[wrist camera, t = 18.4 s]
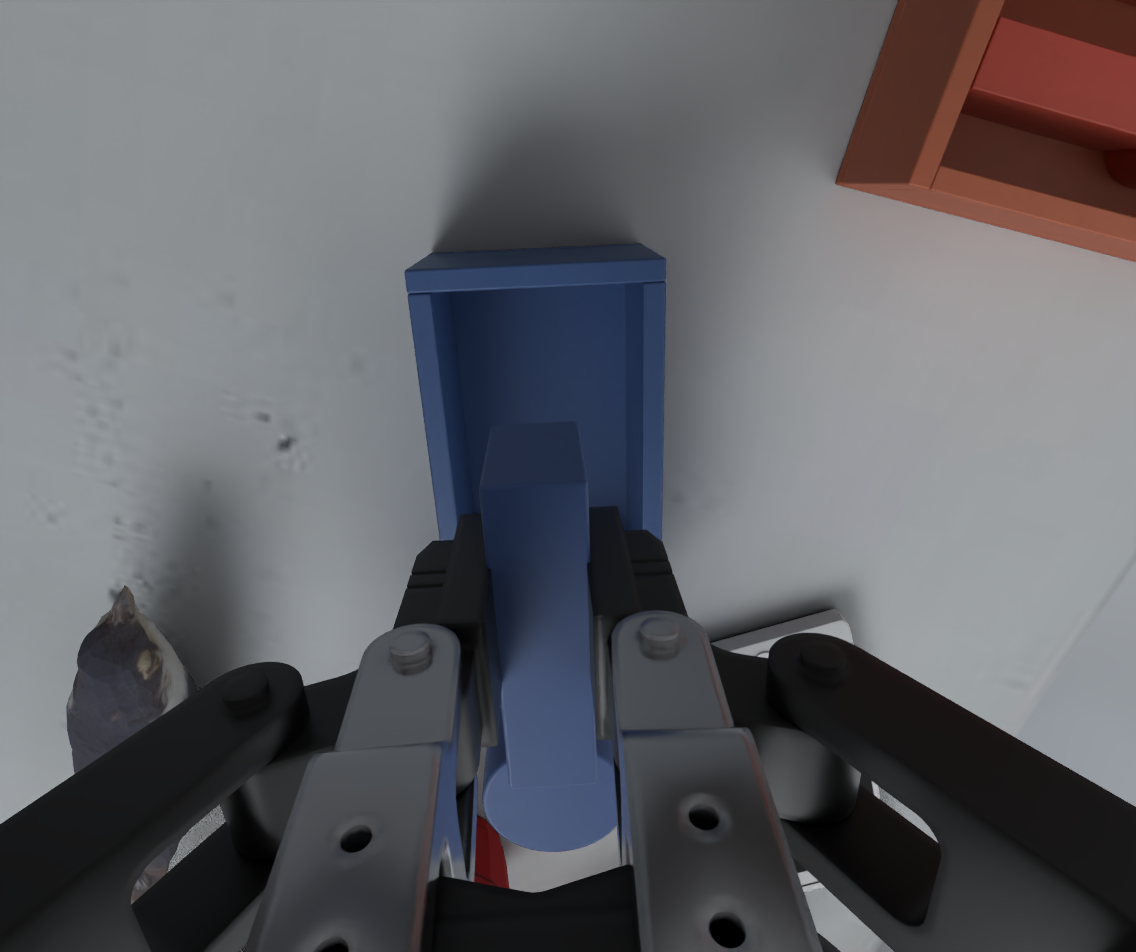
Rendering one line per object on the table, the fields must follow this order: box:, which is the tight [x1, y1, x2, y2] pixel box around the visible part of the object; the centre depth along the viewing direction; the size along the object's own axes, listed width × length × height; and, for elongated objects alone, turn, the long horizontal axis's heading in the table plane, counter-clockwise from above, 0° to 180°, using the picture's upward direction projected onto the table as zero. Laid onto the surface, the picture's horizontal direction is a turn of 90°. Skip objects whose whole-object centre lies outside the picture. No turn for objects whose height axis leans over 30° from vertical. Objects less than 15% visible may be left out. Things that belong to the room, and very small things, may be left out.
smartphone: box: [711, 609, 881, 892], centre depth 30 cm, size 7×16×1 cm, turn 18°
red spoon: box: [960, 16, 1136, 189], centre depth 19 cm, size 9×3×3 cm, turn 77°
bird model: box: [67, 586, 197, 904], centre depth 26 cm, size 4×17×5 cm, turn 168°
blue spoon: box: [479, 421, 617, 852], centre depth 13 cm, size 9×3×3 cm, turn 2°
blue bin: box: [405, 243, 666, 542], centre depth 22 cm, size 13×7×5 cm, turn 2°
